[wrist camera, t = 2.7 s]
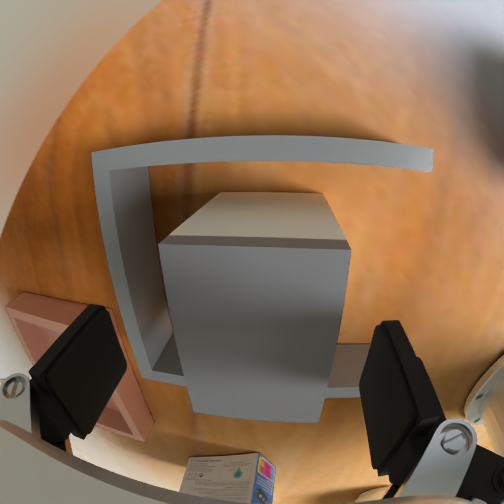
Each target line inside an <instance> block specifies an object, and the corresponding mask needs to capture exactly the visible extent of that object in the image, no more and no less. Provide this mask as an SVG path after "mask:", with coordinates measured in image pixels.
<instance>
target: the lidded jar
mask: <svg viewBox="0 0 504 504" xmlns="http://www.w3.org/2000/svg"><path fill="white" fill-rule="evenodd" d="M388 487H389V486H387V487H380V488H375V489H372V490H369V491H366V492H364V493H362V494H360V495H359V496H358V499H356V500H355V501H354V502H363V501H371V500H379V499H380V498H381V497H382V495H383V494H384V493H385V491H386V490H387V489H388Z"/></svg>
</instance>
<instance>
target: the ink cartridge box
mask: <svg viewBox="0 0 504 504" xmlns="http://www.w3.org/2000/svg"><path fill="white" fill-rule="evenodd" d="M275 469H276V468H275V467H274V466H273V465H272V464H271V463H270V462H269V461H268V460H267V459H266V458H264V457H263V456H262V455H261V454H260V453H250V454H241V455H229V456H212V457H190V458H189V461H188V464H187V467H186V471H185V474H184V477H183V481H182V484H181V487H180V490H179V492H181V493H186V494H190V495H195V496H201V497H206V498H212V499H219V500H225V501H233V502H242V503H252V504H272V500H273V490H274V480H275Z"/></svg>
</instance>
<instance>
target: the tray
mask: <svg viewBox="0 0 504 504" xmlns="http://www.w3.org/2000/svg"><path fill="white" fill-rule="evenodd" d="M87 306H88V305H87V304H82V303H76V302H71V301H66V300H60V299H55V298H51V297H46V296H41V295H36V294H32V293H27V292H23V293H21V294H20V295H19V296H17V297H16V298H15V299H14V300H12V301H11V302H10V303H9V304H7V305H6V306H5V308H6V310H7V313H8V315H9V318H10V320H11V322H12V324H13V327H14V329H15V331H16V333H17V335H18V337H19V339H20V341H21V343H22V345H23V347H24V349H25V351H26V353H27V355H28V357H29V359H30V361H31V363H32V364H33V366H34V365H35V363H36V362H37V361H38V360H39V359H40V358H41V356H42V355H43V354H44V353H45V352H46V351H47V350H48V348H49V347H50V346H51V345H52V344H53V343H54V342H55V341H56V339H57V338H58V337H59V336H60V335H61V334H62V333H63V332H64V331H65V330H66V328H67V327H68V326H69V325H70V324H71V323H72V322H73V321H74V320H75V319H76V318H77V317H78V316H79V315H80V313H81V312H82V311H83V310H84V309H85V308H86V307H87ZM106 310H107V311H108V312H109V313H110V316H111V319H112V322H113V326H114V328H115V331H116V334H117V337H118V340H119V343H120V346H121V348H122V351H123V354H124V356H125V359H126V362H127V370H126V372H125V374H124V376H123V377H122V379H121V381H120V382H119V384H118V386H117V387H116V389H115V391H114V393H113V394H112V396H111V398H110V400H109V401H108V403H107V405H106V407H105V408H104V410H103V412H102V414H101V415H100V417H99V419H98V421H97V423H96V424H95V426H98V427H100V428H103V429H105V430H108V431H111V432H114V433H117V434H119V435H122V436H125V437H128V438H132V439H135V440H138V441H141V442H145V443H146V440H147V438H148V436H149V434H150V432H151V429H152V427H153V425H154V423H155V421H154V419H153V417H152V415H151V413H150V410H149V408H148V406H147V404H146V401H145V399H144V397H143V394H142V392H141V390H140V387H139V385H138V382H137V380H136V377H135V375H134V372H133V370H132V367H131V365H130V362H129V359H128V356H127V354H126V351H125V348H124V345H123V342H122V339H121V336H120V333H119V330H118V327H117V324H116V321H115V318H114V314H113V311H112V309H111V308H106Z"/></svg>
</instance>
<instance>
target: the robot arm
mask: <svg viewBox="0 0 504 504" xmlns="http://www.w3.org/2000/svg"><path fill="white" fill-rule="evenodd" d="M126 370H127V362H126V359H125V356H124V354H123V351H122V348H121V346H120V343H119V340H118V337H117V334H116V331H115V328H114V326H113V322H112V319H111V316H110V313H109V312H108V311H107V310H106V308H105V307H104V306H101V305H94V304H90V305H88V306H87V307H86V308H85V309H84V310H83V311H82V312H81V313H80V315H79V316H78V317H77V318H76V319H75V320H74V321H73V322H72V323H71V324H70V325H69V326H68V327H67V328H66V330H65V331H64V332H63V333H62V334H61V335H60V336H59V337H58V338H57V339H56V341H55V342H54V343H53V344H52V345H51V346H50V347H49V348H48V350H47V351H46V352H45V353H44V354H43V355H42V356H41V358H40V359H39V360H38V361H37V362H36V363H35V365H34V366H33V367H32V368H31V369H30V371H29V374H30V375H31V377H32V379H31V380H29V379H28V377H27V376H26V375H24V374H21V373H17V374H13V375H10V376H9V377H7V378H6V379H5V380H4V381H3V382H2V384H1V386H0V504H252V503H242V502H233V501H225V500H219V499H212V498H206V497H201V496H195V495H190V494H186V493H181V492H177V491H172V490H168V489H165V488H161V487H157V486H153V485H150V484H147V483H143V482H140V481H137V480H134V479H131V478H128V477H125V476H122V475H119V474H117V473H114V472H111V471H108V470H106V469H103V468H101V467H98V466H96V465H94V464H91V463H89V462H87V461H84V460H82V459H80V458H78V457H76V456H73V453H72V448H71V444H70V439H69V435H70V433H72V434H73V435H74V436H76V437H78V438H81V439H83V440H84V439H85V437H86V435H87V434H90V433H91V432H92V430H93V428H94V426H95V424H96V423H97V421H98V419H99V417H100V415H101V414H102V412H103V410H104V408H105V407H106V405H107V403H108V401H109V400H110V398H111V396H112V394H113V393H114V391H115V389H116V387H117V386H118V384H119V382H120V381H121V379H122V377H123V376H124V374H125V372H126ZM359 391H360V397H361V402H362V407H363V413H364V418H365V424H366V430H367V436H368V442H369V449H370V455H371V463H372V467H373V469H377V471H378V476H384V475H389V481H390V482H391V484H390V486H389V487H388V489H387V490H386V491H385V493H384V494H383V495H382V497H381V498H380V499H379V500H371V501H363V502H354V503H343V504H504V355H502V356H501V357H500V358H499V359H498V360H497V361H496V362H495V363H494V364H493V365H492V366H491V367H490V368H489V369H488V370H487V371H486V373H485V374H484V375H483V376H482V377H481V378H480V380H479V381H478V382H477V383H476V385H475V386H474V388H473V389H472V391H471V392H470V394H469V396H468V398H467V400H466V402H465V406H464V414H465V417H466V420H467V421H468V422H469V423H471V424H477V425H479V424H484V426H485V428H486V431H487V433H488V436H489V438H490V441H491V444H492V446H493V449H494V452H495V453H494V452H492V451H489V450H487V449H485V448H483V447H481V446H479V445H477V435H476V432H475V430H474V428H473V427H472V426H471V425H470V424H469V423H468V422H466V421H464V420H461V419H449V420H446V418H445V416H444V413H443V410H442V408H441V405H440V403H439V400H438V398H437V395H436V393H435V390H434V388H433V385H432V383H431V381H430V378H429V376H428V374H427V371H426V369H425V367H424V365H423V362H422V361H421V359H420V358H418V357H416V355H415V353H414V350H413V348H412V346H411V344H410V342H409V340H408V338H407V335H406V333H405V331H404V329H403V327H402V325H401V323H400V322H399V321H398V320H391V321H382V322H381V324H380V325H377V326H376V327H375V330H374V334H373V337H372V341H371V345H370V348H369V352H368V355H367V358H366V362H365V365H364V368H363V371H362V374H361V377H360V381H359Z"/></svg>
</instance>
